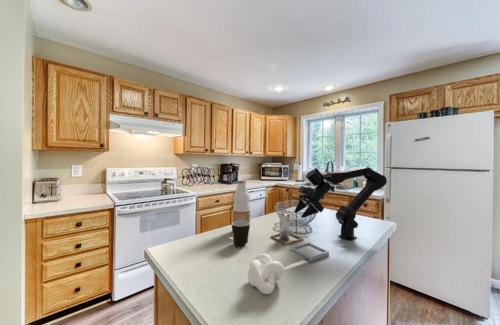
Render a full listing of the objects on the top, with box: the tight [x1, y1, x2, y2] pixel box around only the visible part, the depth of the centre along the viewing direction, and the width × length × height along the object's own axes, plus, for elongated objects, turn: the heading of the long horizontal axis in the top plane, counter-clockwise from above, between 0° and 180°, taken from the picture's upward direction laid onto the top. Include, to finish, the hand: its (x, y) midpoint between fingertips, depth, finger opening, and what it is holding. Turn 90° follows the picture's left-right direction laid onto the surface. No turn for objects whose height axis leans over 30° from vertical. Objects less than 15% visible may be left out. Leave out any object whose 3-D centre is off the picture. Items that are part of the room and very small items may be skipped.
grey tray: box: [289, 241, 330, 264], centre depth 92 cm, size 11×11×2 cm
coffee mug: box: [230, 221, 251, 248], centre depth 103 cm, size 12×9×10 cm
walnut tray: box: [270, 232, 304, 246], centre depth 106 cm, size 11×11×2 cm
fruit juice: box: [232, 179, 251, 231], centre depth 119 cm, size 9×9×28 cm
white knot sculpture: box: [247, 253, 285, 295], centre depth 69 cm, size 11×12×9 cm
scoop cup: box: [278, 212, 291, 241], centre depth 106 cm, size 5×5×12 cm
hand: (298, 214), depth 107 cm, fingers open, 9 cm apart
